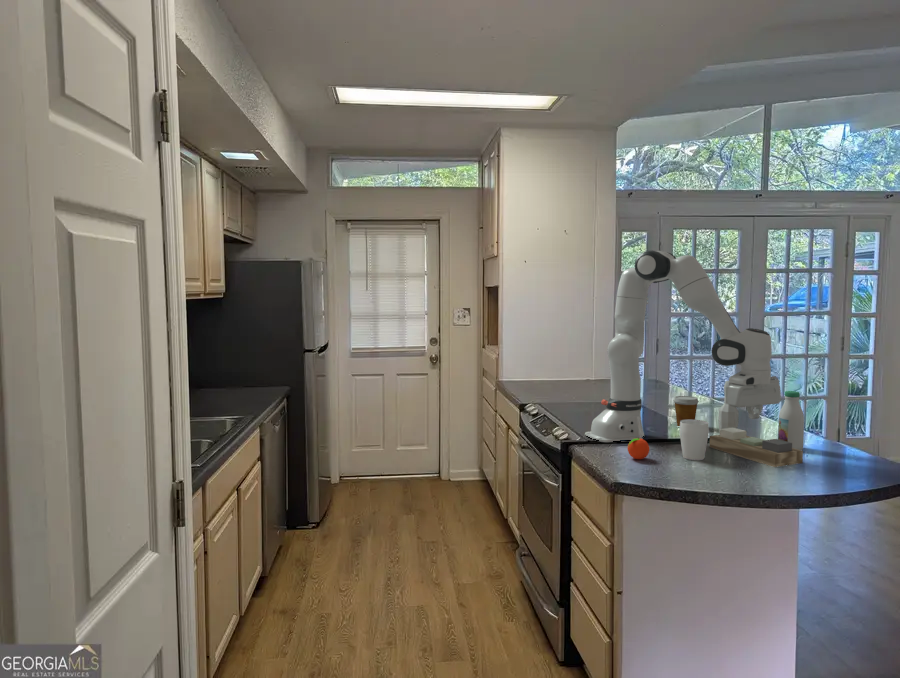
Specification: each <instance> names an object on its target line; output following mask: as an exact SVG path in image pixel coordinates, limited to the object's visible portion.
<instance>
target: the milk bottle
mask: <svg viewBox="0 0 900 678" xmlns="http://www.w3.org/2000/svg"><path fill="white" fill-rule="evenodd" d="M800 393H801V392H799V391H796V390H786V391H784V398H785V399H784V402H783V405H782V406H781V408H780V411H779V414H778V428H777V429H778V430H777V431H778V434H777V439H779V440H783V441H787V442H791V443H792V448H795V449H798V450H802V451H803V449H804V435H805V434H804V433H805V432H804V431H805V425H804V424H805V416H804V415H805V414H804V412H803V409H802V407H801V404H800V396H801V394H800Z"/></svg>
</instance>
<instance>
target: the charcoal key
mask: <svg viewBox="0 0 900 678" xmlns="http://www.w3.org/2000/svg"><path fill="white" fill-rule="evenodd" d="M762 449H766V450H770V451H773V452H777V453H781V452H788V451H792V443H791V442H787V441H783V440H779V439H778V438H771V439H763V441H762Z"/></svg>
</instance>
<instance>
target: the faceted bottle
mask: <svg viewBox="0 0 900 678" xmlns="http://www.w3.org/2000/svg"><path fill="white" fill-rule="evenodd" d="M730 384H732V383H729V380H725V382H724V385H723V394H724V395H723V397H724V398H723V399H724V403H723V405H721V406H720V408H718V419H717V420H718V427H719V431H720V429H725V428H736V429H739V428H738V427H739V418H740V416H739V415H740V413H739V409H738V407H732V406H730V405H729V404H728V388H729V386H730Z"/></svg>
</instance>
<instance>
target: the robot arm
mask: <svg viewBox="0 0 900 678" xmlns="http://www.w3.org/2000/svg"><path fill="white" fill-rule="evenodd" d="M669 280H670V281H671V283H673V285H674V286H675V288H676V291H677V292H678V294H679V296H680V298H681V299H682V300H683V302H684V303H685V304H686V306H687V307H688V308H689V309H691V310H693V311H695V312H697V313H700V314H702V315H703V316H705V317H706V318H707V319H708V320H709V321H710V322H711V324H712V326H713V328H714V329H715V331H716V332H717V335H718V336H719V337H720V339H718V340H717V341H715V342H714V343H713V345H712V347H711V357H712V359H713V360H714V361H715V363H717V364H718V365H720V366H724V367H730V366H735V365H739V366H741V369H740V370H741V371H740V370H739V372H737V373H735V374H732V375H731V376H729V378H728V381H729V383H732V384H730V386H729V388H728V404H729V405H730V406H732V407H736V408H743V407H744V408H746V411H747V413H748V419H750V420H755V419H756V420H757V419H760V415H761V412H762V410H763V407H764V406H766V405H767V406H768V405H776V404H777V405H779V404H780V402H781V401H782V392H781V391H782V390H781V385H780V379H779V378H778V377H777V376H774V375H773V376H771V375H772V373H771V372H772V367H771V359H772V356H773V355H772V347H773V346H772V337H771V335H770V333H769V332H767V331H766V330H764V329H758V328H751V327H750V328H749V327H748V328H745V329H744V330H743V331H740V330H739V329H738V326H737V325H736V323H735V322H734V320H733V319H732V317H731V315H730V314H729V313H728V311H727V309H726V308H725V306H724V304H723V303H722V300H721V299H720V297H719V295H718V293H717V290H716V289H715V287H714V285H713V283H712V280H711V279H710V277H709V275H708V273H707V271H706V270H705V269H704V268H703V266H702V264H701V263H700V262H699V261H698V260H697V258H695V257H694V256H693V255H690V254H685V255H680V256H678V257H676V256H675V255H674V254H672V253H670V252H667V251H664V250H652V249H651V250H646V251H643V252H641V253H640V254H639V255H638V256H637V257H636V258H635V262H634V267H628V268H626V269H625V270H624V271H622V272H621V275H620V279H619V282H618V285H617V286H618V287H617V291H616V300H615V309H614V316H613V318H614V329H615V330H614V332H615V333H614V337H613V338H612V339H611V340H610V341H609V343H608V345H607V351H606V352H607V358H608V368H609V374H610V375H609V376H610V397H609V399H608V400H607V399H604V398H603V399H602V400H601V402H600V403H601V405H603V406H606V408H605V409H604V410H602V411H601V413H599V414H598V415H597V416H596V417H595V418H593V420H592V422H591V426H590V427H591V428H590V431H585V433H584V436H585V435H586V436H588V437H590V438H592V439H591V440H593V439H596V440H599V441H598V442H601V443H614V442H613V441H620V440H633V439H635V438H641V439H643V438H644V437H645V432H644V428H643V422H642V412H641V411H642V406H643V404H642V398H641V388H642V387H641V385H642V384H641V383H642V381H641V374H640V362H639V360H640V359H639V358H640V357H641V356H642V355H643V352H644V349H645V325H646V324H645V321H646V319H645V318H646V312H647V311H646V309H647V304H648V303H647V301H648V294H649V288H650V286H651V284H652V283H653V284H657V283H661V282H666V281H669ZM586 436H585V437H586ZM643 436H644V437H643ZM588 437H587V438H588ZM642 437H643V438H642ZM590 438H589V439H590ZM596 440H595V441H596Z"/></svg>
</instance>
